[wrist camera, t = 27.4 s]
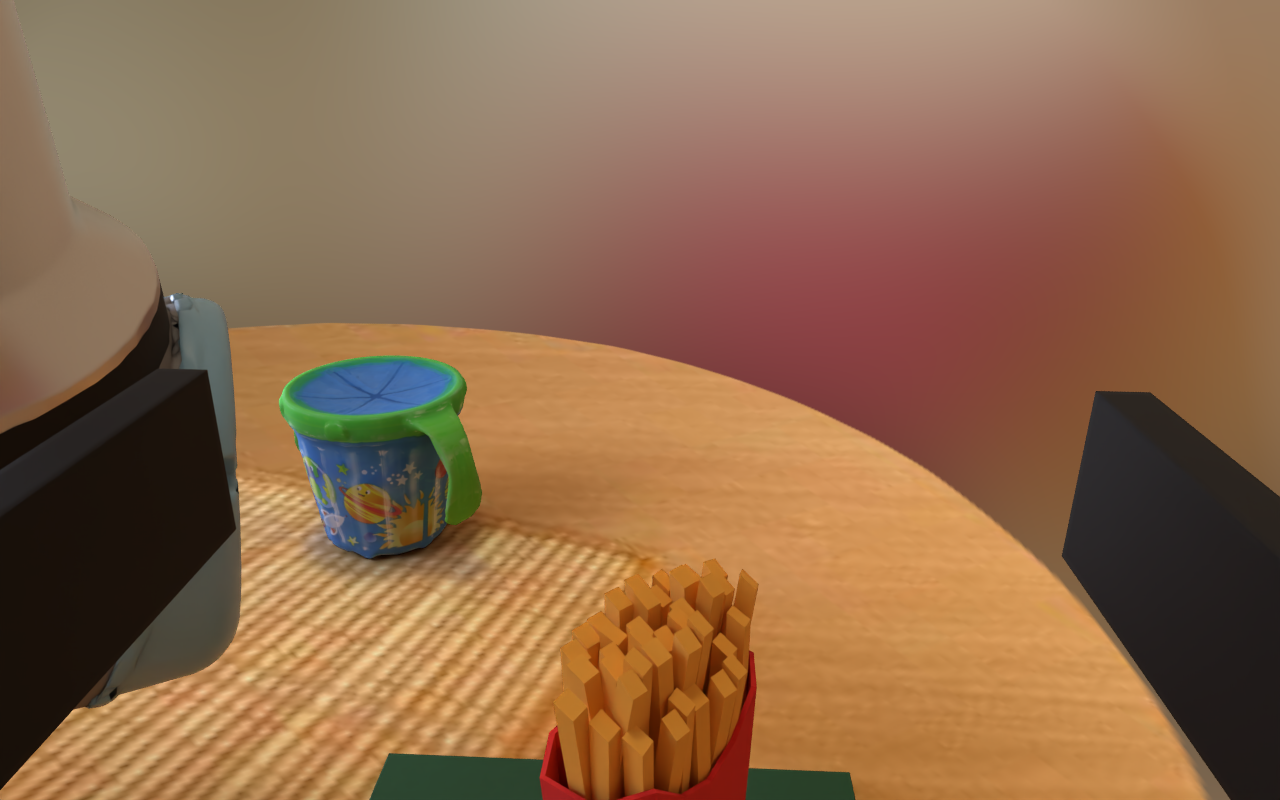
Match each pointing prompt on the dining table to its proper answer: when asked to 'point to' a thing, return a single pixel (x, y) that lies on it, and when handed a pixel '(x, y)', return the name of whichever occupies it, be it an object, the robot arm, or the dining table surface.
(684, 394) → the dining table surface
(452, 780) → the green cloth
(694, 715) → the french fries
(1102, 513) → the robot arm
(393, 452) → the snack cup
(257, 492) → the dining table surface
